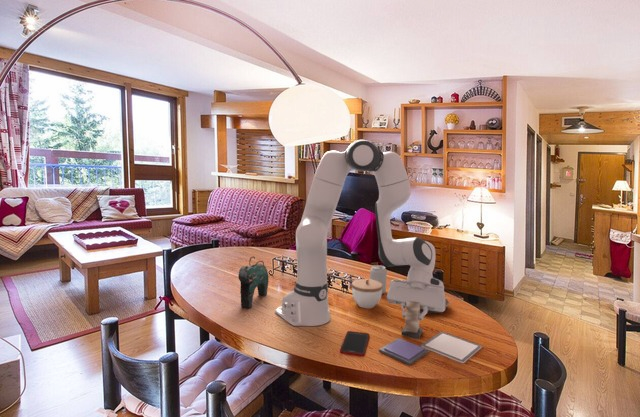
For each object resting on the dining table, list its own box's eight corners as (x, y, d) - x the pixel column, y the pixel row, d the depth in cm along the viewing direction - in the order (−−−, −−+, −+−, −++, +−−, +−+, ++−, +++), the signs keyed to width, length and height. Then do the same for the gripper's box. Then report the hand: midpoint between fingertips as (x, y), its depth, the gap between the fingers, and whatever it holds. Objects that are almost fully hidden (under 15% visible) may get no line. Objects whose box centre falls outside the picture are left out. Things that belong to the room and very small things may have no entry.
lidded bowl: (360, 312, 147) (361, 285, 145) (346, 301, 158) (346, 276, 157) (387, 308, 152) (388, 282, 150) (371, 297, 163) (372, 273, 162)
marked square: (420, 346, 120) (421, 344, 120) (441, 333, 130) (441, 331, 130) (463, 363, 111) (463, 361, 111) (481, 347, 120) (482, 345, 120)
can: (387, 295, 166) (388, 269, 165) (370, 294, 167) (371, 268, 165) (384, 289, 174) (385, 264, 172) (368, 289, 174) (369, 264, 172)
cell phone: (369, 336, 128) (369, 333, 128) (364, 357, 114) (364, 354, 114) (347, 333, 130) (347, 330, 130) (339, 354, 116) (339, 351, 116)
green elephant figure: (248, 311, 147) (248, 262, 144) (234, 309, 149) (233, 260, 146) (271, 294, 165) (271, 250, 163) (258, 292, 167) (257, 249, 165)
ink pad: (379, 351, 117) (379, 347, 117) (398, 340, 125) (398, 336, 124) (409, 365, 109) (409, 361, 109) (428, 352, 117) (428, 348, 117)
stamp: (401, 335, 128) (402, 304, 127) (405, 328, 134) (406, 299, 132) (419, 339, 126) (420, 308, 124) (422, 331, 131) (423, 301, 130)
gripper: (389, 274, 138) (381, 308, 130) (447, 282, 129) (442, 320, 122) (392, 282, 142) (384, 316, 135) (448, 291, 134) (443, 327, 126)
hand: (412, 318), depth 128 cm, fingers closed on stamp, 4 cm apart
